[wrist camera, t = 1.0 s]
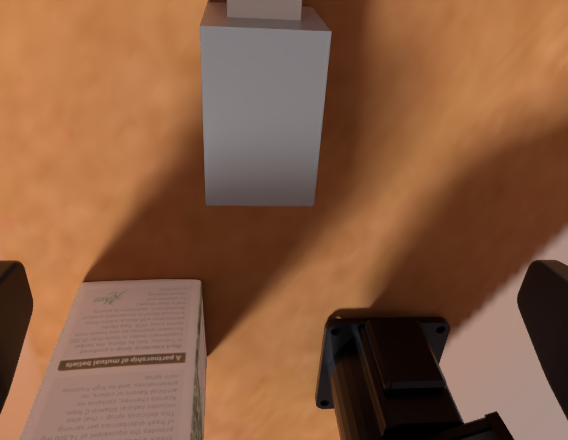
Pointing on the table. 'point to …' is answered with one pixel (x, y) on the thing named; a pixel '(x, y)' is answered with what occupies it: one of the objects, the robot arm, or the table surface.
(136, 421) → the syrup box
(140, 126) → the table surface
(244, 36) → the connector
